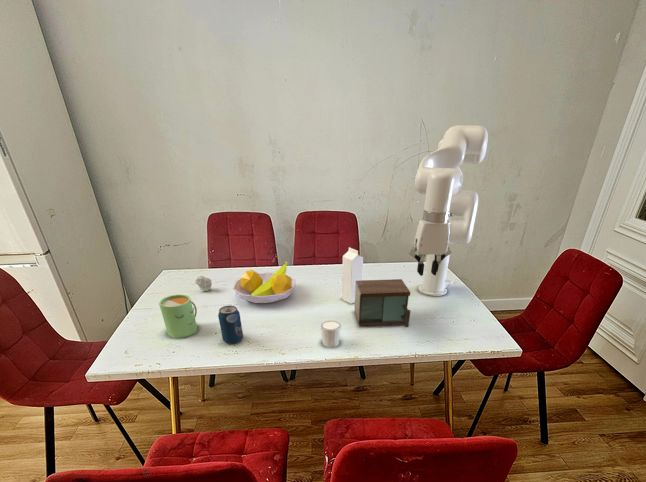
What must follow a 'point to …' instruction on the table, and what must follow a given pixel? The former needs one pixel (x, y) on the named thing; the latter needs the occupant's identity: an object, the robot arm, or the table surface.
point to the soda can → (230, 324)
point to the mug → (178, 315)
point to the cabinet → (376, 300)
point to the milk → (351, 274)
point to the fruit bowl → (265, 286)
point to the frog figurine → (203, 283)
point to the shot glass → (330, 333)
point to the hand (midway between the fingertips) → (426, 273)
